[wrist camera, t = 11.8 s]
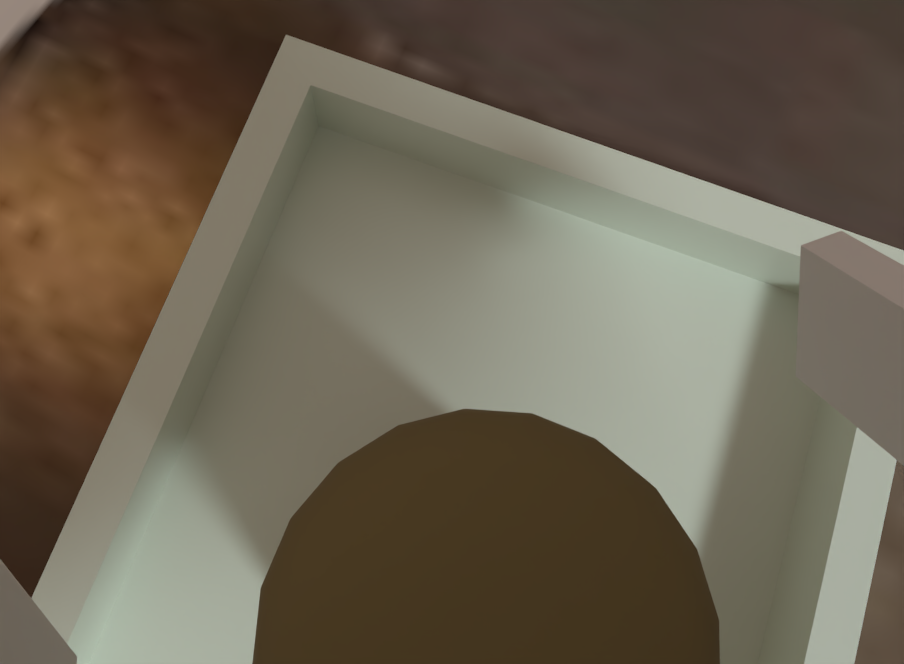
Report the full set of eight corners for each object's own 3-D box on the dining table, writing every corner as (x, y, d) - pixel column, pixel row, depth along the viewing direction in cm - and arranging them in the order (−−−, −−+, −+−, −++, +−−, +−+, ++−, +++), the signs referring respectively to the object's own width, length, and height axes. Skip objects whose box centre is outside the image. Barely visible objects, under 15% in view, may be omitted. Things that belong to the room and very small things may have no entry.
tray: (300, 99, 22) (286, 34, 19) (864, 297, 22) (938, 262, 19) (-50, 901, 17) (-142, 980, 14) (665, 1163, 17) (721, 1297, 14)
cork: (252, 630, 18) (40, 797, 7) (396, 396, 19) (397, 242, 9) (491, 778, 17) (639, 1188, 7) (619, 529, 19) (912, 542, 8)
